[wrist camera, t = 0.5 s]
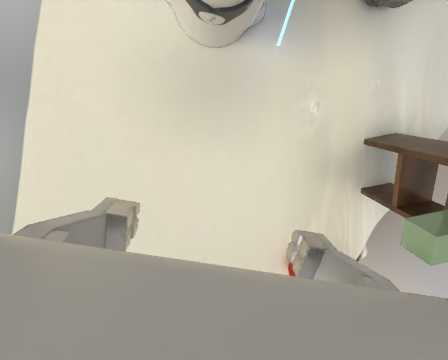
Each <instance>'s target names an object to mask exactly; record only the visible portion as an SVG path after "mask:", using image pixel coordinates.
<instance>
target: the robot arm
mask: <svg viewBox="0 0 448 360" xmlns="http://www.w3.org/2000/svg"><path fill="white" fill-rule="evenodd" d="M166 1H167V2H168V3H169V4H170V5H171V7H172V9H173V11H174V13H175V16H176V18H177V20H178V22H179V24H180V26H181V28H182V29H183V30H184V32H185V33H186V34H187V35H188V36H189V37H190V38H191V39H193V40H194V41H195V42H197V43H199V44H201V45H204V46H207V47H214V48H216V47H223V46H226V45H229V44H231V43H233V42H234V41H236V40H237V39H238V38H239V37H240V36H241V35H242V34H243V33H244V31H245V30H246V29H247V28H248V27H250V26H252V25H255V24H257V23H258V22H260V21H261V20H262V19H263V17H264V14H265V0H166ZM293 3H294V0H292V1H291V4H290V7H289V10H288V13H287V16H286V19H285V22H284V25H283V28H282V31H281V34H280V37H279V40H278V43H277V45H280V43H281V40H282V37H283V34H284V31H285V28H286V25H287V22H288V19H289V16H290V13H291V9H292V6H293ZM139 212H140V203H137V202H132V201H126V200H121V199H117V198H110V197H107V198H105V199H104V200H103V201H102V202H101V203H100V204H98V205H97V206H96V207H95V208H94V209H93V210H91V211H83V212H79V213H75V214H71V215H67V216H63V217H59V218H55V219H51V220H47V221H42V222H38V223H34V224H30V225H27V226H26V227H24V228H23V229H21V230H19V231H18V232H16V233H15V234H13V235H8V234H1V233H0V360H448V299H447V298H440V297H434V296H426V295H420V294H413V293H405V292H401V291H400V290H399V289H398V288H397V287H395V285H394V284H392V283H391V281H390V280H388V279H386V278H385V277H383V276H381V275H379V274H378V273H376V272H374V271H373V270H371V269H369V268H368V267H366V266H364V265H362V264H361V263H359V262H357V261H356V260H354V259H352V258H350V257H349V256H347V255H345V254H344V253H342V252H338V251H337V249H336V248H335V247H334V246H333V245H332V244H331V243H330V241H329V240H328V239H327V238H326V237H325V236H324V235H323V234H320V233H314V232H307V231H300V230H295V231H294V232H293V234H292V236H291V237H292V240H293V241H292V242H291V243H289V245H288V248H287V258H288V261H289V262H290V263H291V264H292V265H293V267H292V269H293V271H294V273H295V275H296V276H289V275H282V274H275V273H269V272H262V271H255V270H248V269H241V268H234V267H228V266H221V265H214V264H207V263H200V262H193V261H187V260H180V259H173V258H166V257H159V256H152V255H146V254H139V253H132V252H125V250H126V249H127V247H128V245H129V244H130V239H132V238H133V237H134V235H135V233H136V230H137V227H138V221H139V219H138V218H137V215H138V213H139Z"/></svg>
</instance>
